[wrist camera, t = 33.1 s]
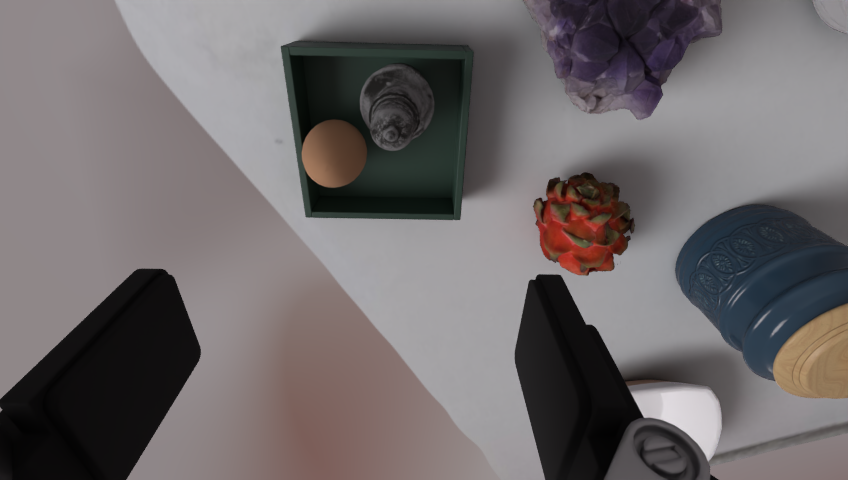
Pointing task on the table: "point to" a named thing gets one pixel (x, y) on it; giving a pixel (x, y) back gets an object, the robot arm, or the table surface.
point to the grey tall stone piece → (396, 105)
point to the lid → (833, 13)
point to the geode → (620, 47)
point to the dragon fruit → (583, 224)
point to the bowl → (682, 409)
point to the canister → (774, 295)
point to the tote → (384, 170)
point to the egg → (334, 153)
